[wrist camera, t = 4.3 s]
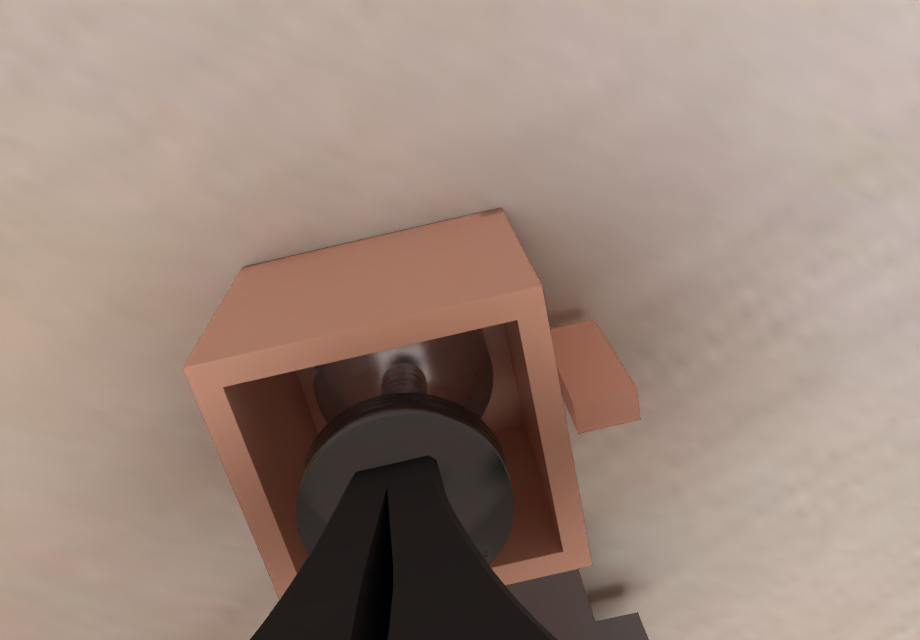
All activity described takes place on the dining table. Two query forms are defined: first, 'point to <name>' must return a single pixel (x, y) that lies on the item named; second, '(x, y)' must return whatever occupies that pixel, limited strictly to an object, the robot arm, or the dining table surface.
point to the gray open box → (572, 610)
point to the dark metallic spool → (411, 432)
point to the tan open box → (394, 325)
